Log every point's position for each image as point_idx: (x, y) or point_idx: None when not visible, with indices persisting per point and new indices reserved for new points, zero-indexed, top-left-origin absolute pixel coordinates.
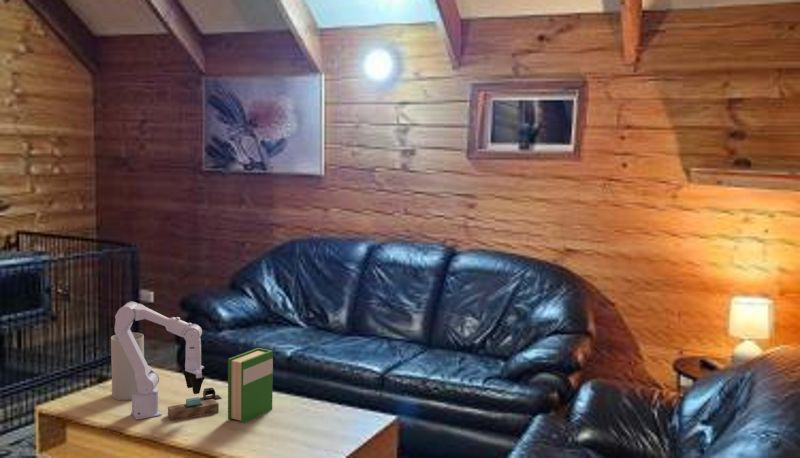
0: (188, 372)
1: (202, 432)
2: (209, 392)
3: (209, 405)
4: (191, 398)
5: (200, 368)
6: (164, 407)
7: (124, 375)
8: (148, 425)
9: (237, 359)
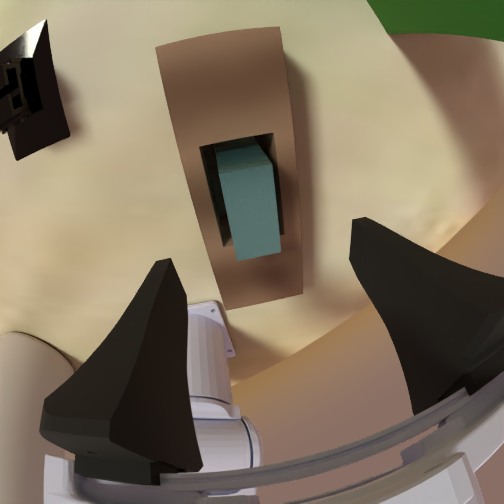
0: (182, 446)
1: (444, 174)
2: (5, 94)
3: (288, 92)
4: (235, 227)
5: (477, 463)
6: (121, 289)
7: None
8: (296, 325)
9: None
